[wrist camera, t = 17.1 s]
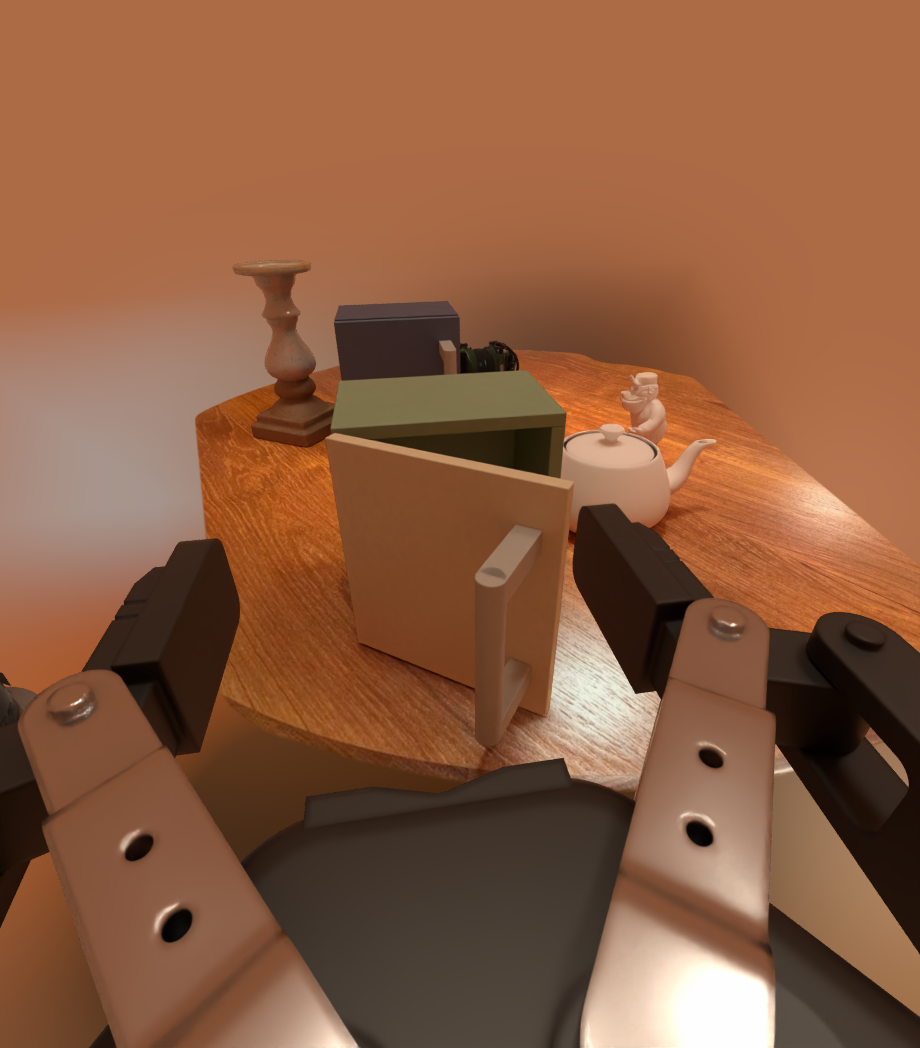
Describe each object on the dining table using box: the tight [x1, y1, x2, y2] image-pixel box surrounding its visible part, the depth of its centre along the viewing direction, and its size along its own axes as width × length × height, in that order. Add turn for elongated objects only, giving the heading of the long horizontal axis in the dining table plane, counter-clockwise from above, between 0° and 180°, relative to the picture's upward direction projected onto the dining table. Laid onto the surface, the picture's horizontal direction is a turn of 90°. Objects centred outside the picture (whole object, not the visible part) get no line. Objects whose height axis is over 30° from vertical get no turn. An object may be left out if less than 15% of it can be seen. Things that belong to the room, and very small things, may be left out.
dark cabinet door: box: [334, 316, 460, 381], centre depth 69 cm, size 7×16×18 cm, turn 98°
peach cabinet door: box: [325, 433, 574, 747], centre depth 33 cm, size 7×16×18 cm, turn 62°
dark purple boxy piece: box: [335, 301, 458, 321], centre depth 77 cm, size 11×16×18 cm
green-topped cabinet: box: [330, 370, 566, 479], centre depth 44 cm, size 11×16×18 cm
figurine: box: [620, 372, 667, 445], centre depth 68 cm, size 9×7×12 cm
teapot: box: [560, 424, 717, 533], centre depth 56 cm, size 22×14×11 cm, turn 97°
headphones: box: [460, 341, 519, 374], centre depth 98 cm, size 13×13×20 cm
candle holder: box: [233, 260, 335, 447], centre depth 77 cm, size 11×11×24 cm
